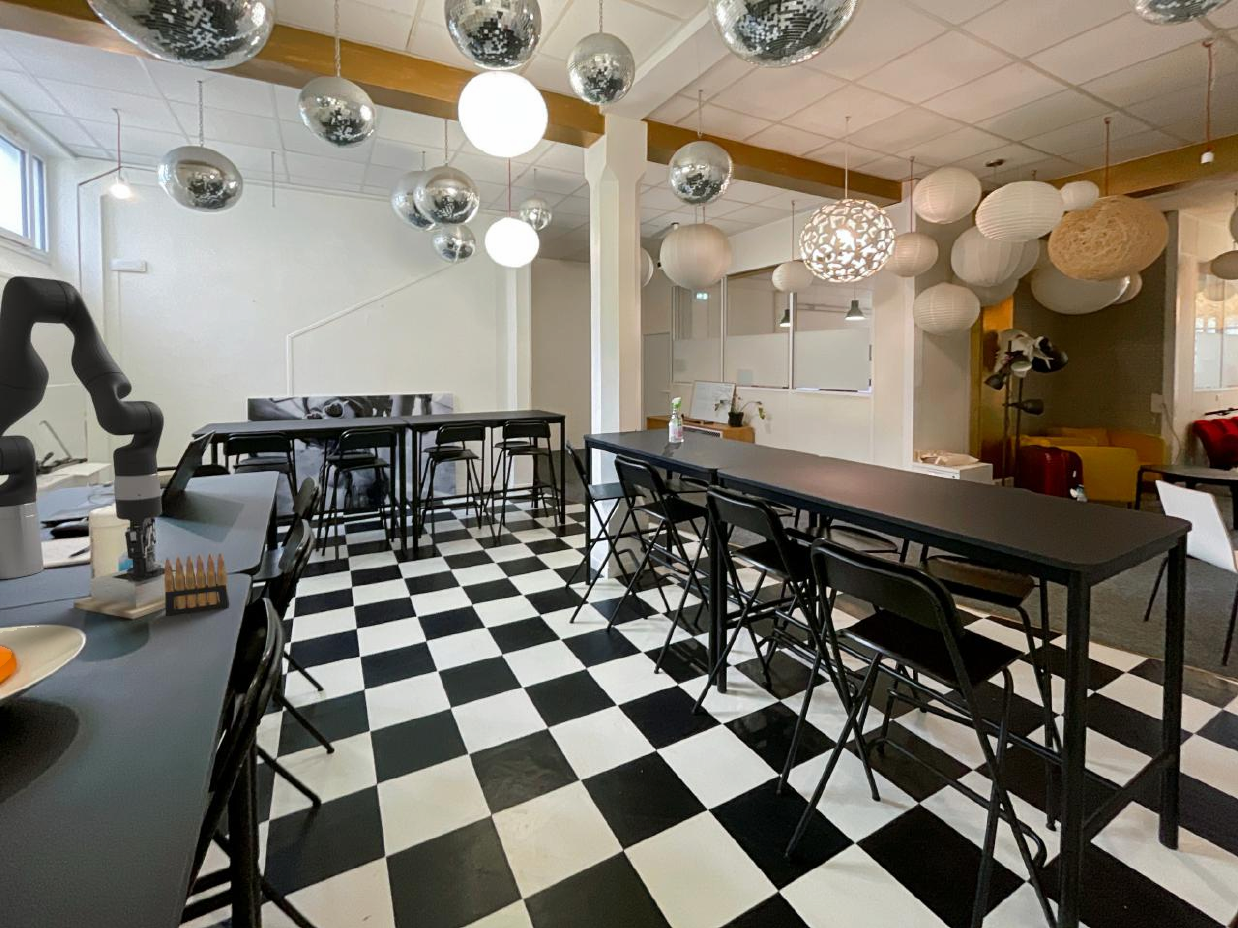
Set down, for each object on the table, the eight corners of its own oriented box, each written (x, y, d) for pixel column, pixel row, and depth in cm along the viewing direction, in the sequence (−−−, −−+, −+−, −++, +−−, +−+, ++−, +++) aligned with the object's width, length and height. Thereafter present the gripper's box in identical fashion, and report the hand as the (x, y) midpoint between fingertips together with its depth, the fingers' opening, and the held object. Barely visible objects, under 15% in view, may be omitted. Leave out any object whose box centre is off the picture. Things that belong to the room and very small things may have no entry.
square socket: (91, 600, 121) (89, 579, 120) (155, 580, 133) (154, 561, 132) (136, 608, 117) (134, 587, 117) (198, 587, 130) (197, 568, 129)
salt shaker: (169, 581, 127) (165, 529, 125) (139, 590, 121) (135, 535, 120) (151, 578, 129) (147, 526, 127) (121, 586, 123) (116, 532, 121)
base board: (73, 607, 119) (73, 602, 119) (158, 581, 136) (158, 576, 136) (133, 619, 115) (133, 613, 115) (213, 590, 131) (213, 585, 131)
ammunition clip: (165, 616, 117) (160, 559, 115) (167, 613, 118) (162, 557, 117) (228, 608, 122) (225, 553, 120) (229, 605, 124) (226, 551, 122)
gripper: (153, 500, 118) (159, 578, 120) (167, 488, 130) (172, 559, 132) (105, 502, 114) (112, 583, 116) (124, 489, 127) (130, 563, 129)
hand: (144, 570), depth 124 cm, fingers closed on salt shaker, 6 cm apart
